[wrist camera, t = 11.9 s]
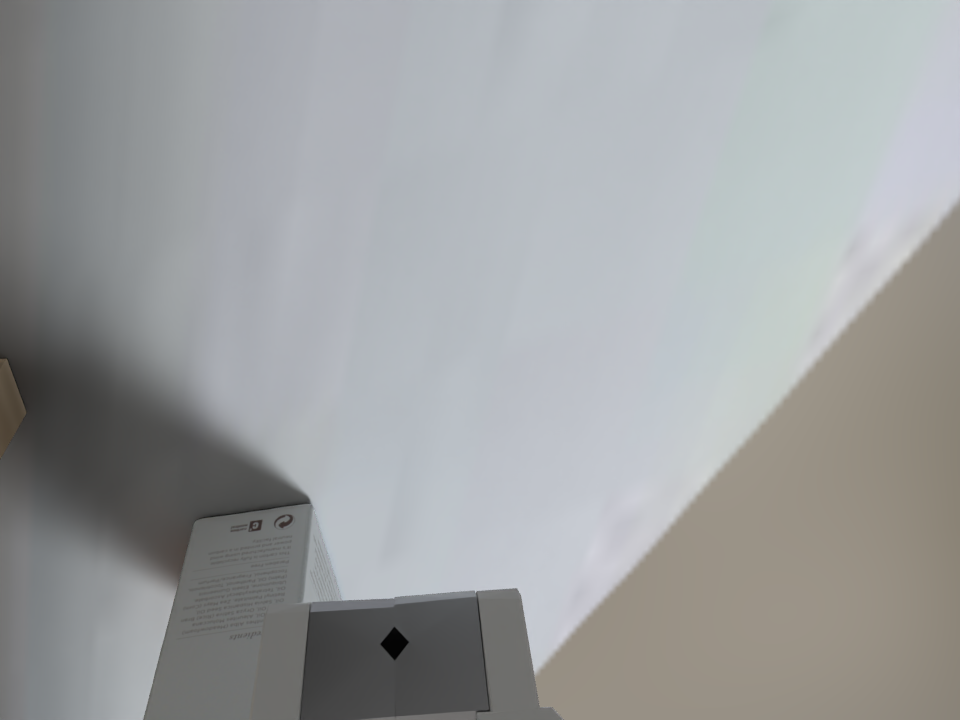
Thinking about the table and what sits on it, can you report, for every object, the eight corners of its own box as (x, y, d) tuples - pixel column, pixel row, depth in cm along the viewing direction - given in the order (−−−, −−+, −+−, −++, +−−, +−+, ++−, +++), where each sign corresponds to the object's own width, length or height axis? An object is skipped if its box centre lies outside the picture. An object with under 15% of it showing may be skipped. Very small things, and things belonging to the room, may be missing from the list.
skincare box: (190, 516, 29) (89, 892, 19) (313, 498, 29) (277, 863, 19) (238, 629, 33) (174, 998, 23) (349, 613, 33) (333, 974, 23)
